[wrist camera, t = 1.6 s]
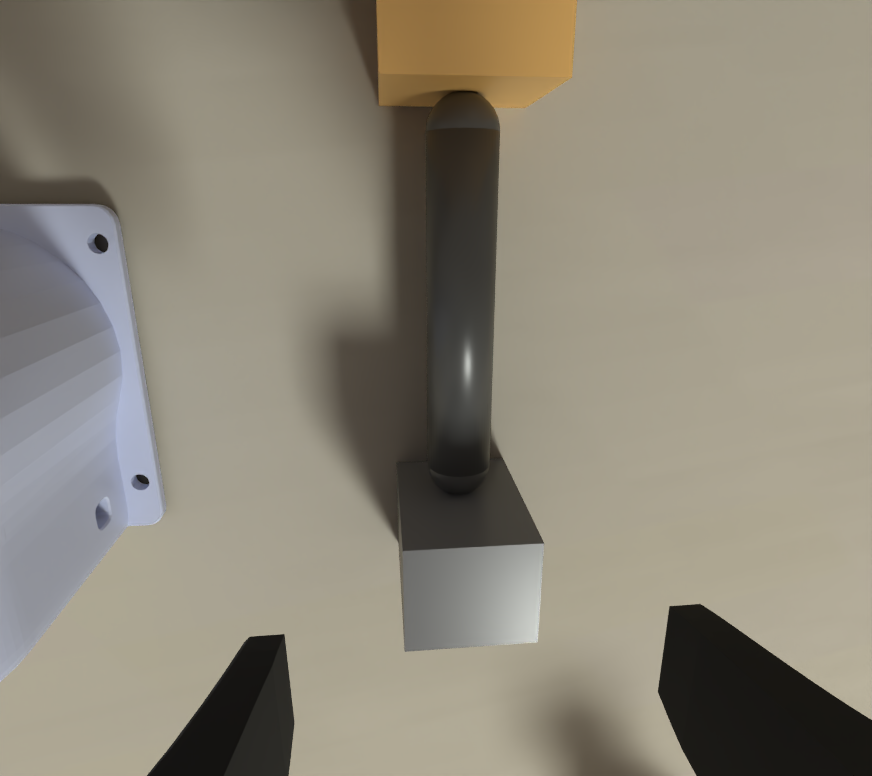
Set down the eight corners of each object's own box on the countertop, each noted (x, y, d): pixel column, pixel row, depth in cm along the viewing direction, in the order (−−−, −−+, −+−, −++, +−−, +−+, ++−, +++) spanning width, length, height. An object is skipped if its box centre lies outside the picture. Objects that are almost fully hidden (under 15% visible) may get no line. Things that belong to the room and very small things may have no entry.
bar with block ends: (506, 537, 20) (547, 641, 15) (391, 543, 19) (395, 652, 15) (534, -115, 14) (613, -275, 9) (372, -123, 14) (369, -294, 9)
